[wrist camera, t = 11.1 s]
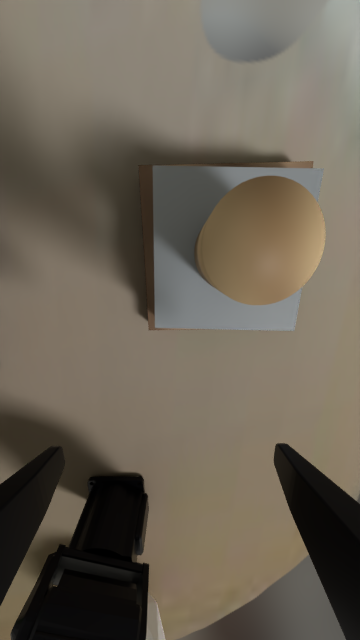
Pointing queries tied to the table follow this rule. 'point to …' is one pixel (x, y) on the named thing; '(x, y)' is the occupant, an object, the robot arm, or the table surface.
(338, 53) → the table surface
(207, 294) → the tower top block
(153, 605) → the geodesic sphere
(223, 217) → the tan rounded piece
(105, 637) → the robot arm
